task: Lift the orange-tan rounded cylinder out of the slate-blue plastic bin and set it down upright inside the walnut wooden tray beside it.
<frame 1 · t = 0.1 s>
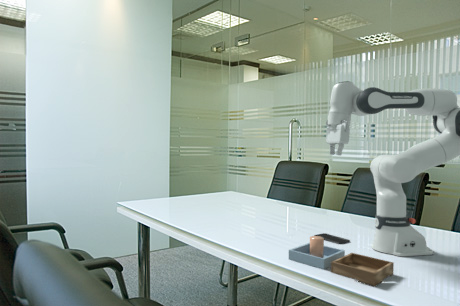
hand: (335, 155, 143), 39 cm above the table, tool pointing down, fingers open, 8 cm apart
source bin: (316, 260, 129), on the table
orange-tan rounded cylinder: (316, 259, 129), point 1 cm above the table, touching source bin
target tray: (362, 274, 116), on the table
phone: (331, 240, 159), on the table
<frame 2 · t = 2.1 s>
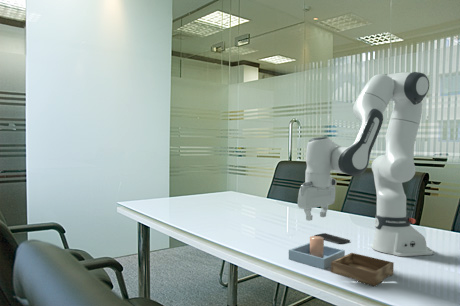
hand: (316, 218, 129), 16 cm above the table, tool pointing down, fingers open, 8 cm apart
nothing on the table moved.
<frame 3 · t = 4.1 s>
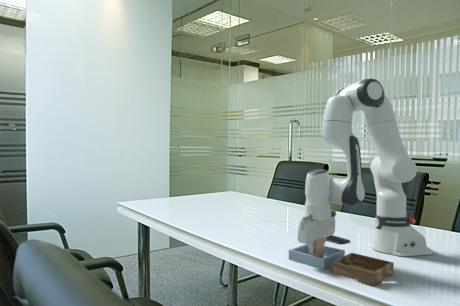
hand: (316, 250, 129), 4 cm above the table, tool pointing down, fingers closed on orange-tan rounded cylinder, 5 cm apart
orange-tan rounded cylinder: (316, 259, 129), point 1 cm above the table, touching gripper, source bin
everything else where it was.
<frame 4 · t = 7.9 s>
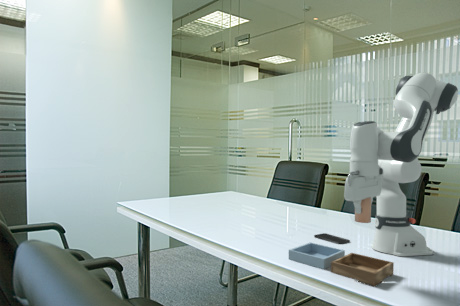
hand: (363, 212, 116), 21 cm above the table, tool pointing down, fingers closed on orange-tan rounded cylinder, 5 cm apart
orange-tan rounded cylinder: (362, 221, 116), point 18 cm above the table, touching gripper
everything else where it was.
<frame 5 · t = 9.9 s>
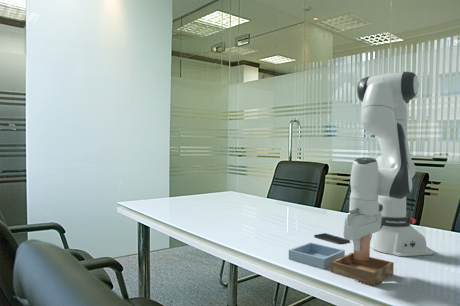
hand: (362, 248, 116), 9 cm above the table, tool pointing down, fingers closed on orange-tan rounded cylinder, 5 cm apart
orange-tan rounded cylinder: (361, 257, 116), point 5 cm above the table, touching gripper
everything else where it was.
when the fingers open (5 cm above the table, at t = 11.5 s): orange-tan rounded cylinder drops 1 cm, resting on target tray.
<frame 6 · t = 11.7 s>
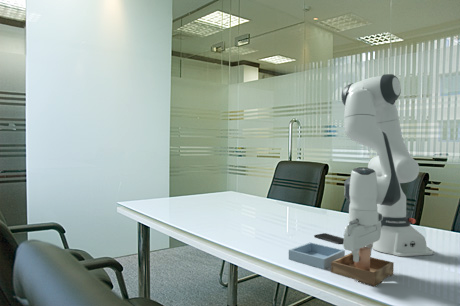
hand: (362, 258, 116), 5 cm above the table, tool pointing down, fingers open, 7 cm apart
orange-tan rounded cylinder: (361, 272, 116), point 1 cm above the table, touching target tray
everything else where it was.
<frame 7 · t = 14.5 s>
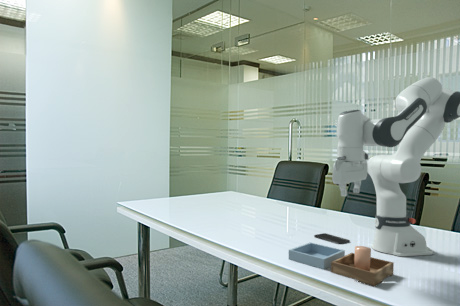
hand: (350, 194, 124), 25 cm above the table, tool pointing down, fingers open, 8 cm apart
nothing on the table moved.
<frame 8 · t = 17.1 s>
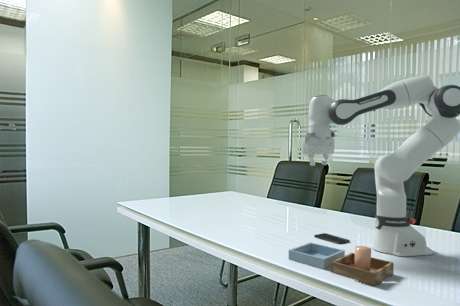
hand: (318, 165, 151), 34 cm above the table, tool pointing down, fingers open, 8 cm apart
nothing on the table moved.
at the end: orange-tan rounded cylinder inside the target area on the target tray (0.1 cm from its centre), point 0.7 cm above the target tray's base; orange-tan rounded cylinder tilted 2°; the gripper is holding nothing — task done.
